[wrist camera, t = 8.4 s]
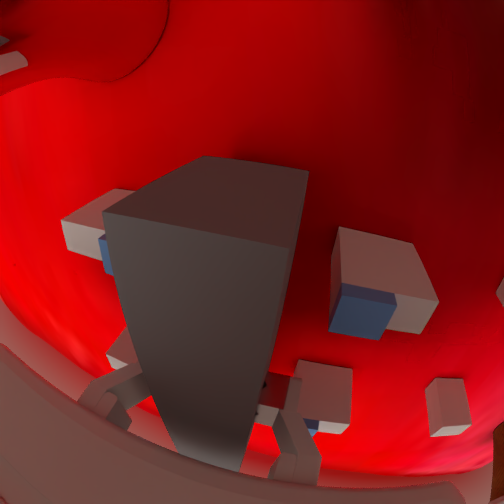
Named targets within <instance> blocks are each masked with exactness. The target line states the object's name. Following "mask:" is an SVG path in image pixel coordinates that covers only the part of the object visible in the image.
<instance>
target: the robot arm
mask: <svg viewBox="0 0 504 504" xmlns="http://www.w3.org/2000/svg"><path fill="white" fill-rule="evenodd" d="M301 387H302V378H297V377H291V376H288V375H283V374H278V373H273V372H268V371H267V373H266V377H265V380H264V384H263V388H262V391H261V394H260V398H259V401H258V405H257V409H256V413H255V416H254V420H253V422H256V423H260V424H264V425H268V426H272V429H273V432H274V434H275V437H276V440H277V443H278V446H279V449H280V451H281V454H280V455H279V457H278V458H277V459H276V461H275V462H274V463H273V465H272V466H271V468H270V471H269V474H268V478H262V477H256V476H252V475H248V474H243V473H239V472H236V471H232V470H228V469H225V468H221V467H218V466H214V465H211V464H208V463H205V462H202V461H199V460H196V459H193V458H190V457H187V456H184V455H182V454H179V453H176V452H174V451H171V450H169V449H166V448H164V447H161V446H159V445H157V444H155V443H152V442H150V441H148V440H146V439H143V438H141V437H139V436H137V435H135V434H133V433H131V432H129V431H127V429H128V428H129V426H130V424H131V422H132V420H131V418H130V416H129V415H128V413H127V412H126V410H127V409H129V408H131V407H132V406H134V405H136V404H138V403H139V402H141V401H143V400H144V399H146V398H147V397H149V396H151V392H150V390H149V387H148V385H147V382H146V380H145V377H144V374H143V372H142V369H141V366H140V364H139V361H138V360H137V362H136V363H130V364H128V365H126V366H124V367H122V368H120V369H117V370H115V371H113V372H111V373H109V374H106V375H104V376H102V377H100V378H97V379H95V380H93V381H91V382H90V384H89V385H88V387H87V388H86V389H85V391H84V392H83V394H82V395H81V397H80V398H79V399H78V401H75V400H73V399H72V398H70V397H69V396H68V395H66V394H65V393H63V392H62V391H60V390H59V389H58V388H56V387H55V386H53V385H52V384H51V383H49V382H48V381H47V380H45V379H44V378H43V377H41V376H40V375H39V374H38V373H36V372H35V371H34V370H32V369H31V368H30V367H29V366H28V365H26V364H25V363H24V362H23V361H22V360H21V359H20V358H19V357H17V356H16V355H15V354H14V353H13V352H12V351H11V350H10V349H9V348H8V347H7V346H5V345H4V344H2V343H0V504H466V502H465V499H464V497H463V495H462V494H461V493H460V491H459V490H458V489H457V487H456V486H455V485H454V484H453V483H452V482H451V481H441V482H434V483H428V484H420V485H411V486H402V487H401V486H400V487H385V488H341V487H325V486H317V481H318V476H319V469H320V464H321V458H322V457H321V455H320V453H319V451H318V449H317V447H316V445H315V443H314V441H313V439H312V436H311V434H310V432H309V430H308V428H307V426H306V424H305V422H304V420H303V418H302V416H301V414H300V413H297V410H298V404H299V399H300V393H301Z"/></svg>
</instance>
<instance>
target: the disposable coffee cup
mask: <svg viewBox="0 0 504 504" xmlns="http://www.w3.org/2000/svg"><path fill="white" fill-rule="evenodd" d="M493 448H494V450H493V477H492V489H491V498H490V502H489V504H504V422H503V423H502V424H501V425H499V426H498V427H497V428H496V429H495V430H494V432H493Z"/></svg>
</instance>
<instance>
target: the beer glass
mask: <svg viewBox="0 0 504 504" xmlns="http://www.w3.org/2000/svg"><path fill="white" fill-rule="evenodd" d="M167 16H168V0H0V96H2V95H4V94H6V93H8V92H11V91H13V90H15V89H18V88H20V87H23V86H26V85H29V84H31V83H34V82H38V81H42V80H47V79H52V78H75V79H82V80H87V81H93V82H110V81H114V80H117V79H120V78H122V77H124V76H126V75H128V74H129V73H131V72H132V71H134V70H135V69H136V68H137V67H138V66H139V65H141V64H142V63H143V62H144V60H145V59H146V58H147V57H148V56H149V55H150V53H151V52H152V51H153V49H154V48H155V46H156V44H157V43H158V41H159V39H160V37H161V35H162V33H163V30H164V28H165V24H166V21H167Z"/></svg>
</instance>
